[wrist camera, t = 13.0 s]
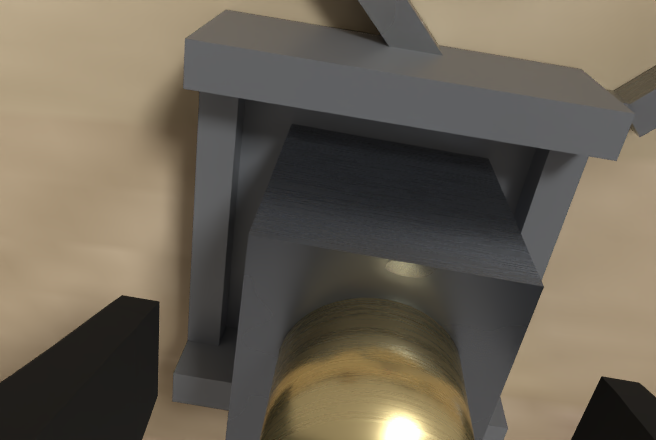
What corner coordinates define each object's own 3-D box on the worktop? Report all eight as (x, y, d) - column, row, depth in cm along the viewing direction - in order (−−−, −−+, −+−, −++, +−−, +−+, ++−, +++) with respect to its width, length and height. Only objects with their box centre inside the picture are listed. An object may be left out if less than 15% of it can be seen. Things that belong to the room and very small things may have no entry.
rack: (581, 69, 13) (635, 113, 11) (477, 365, 18) (497, 454, 15) (225, 9, 13) (184, 38, 11) (205, 320, 17) (172, 401, 15)
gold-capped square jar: (488, 158, 13) (598, 414, 7) (439, 317, 15) (486, 631, 9) (291, 123, 13) (205, 345, 7) (269, 287, 15) (186, 581, 9)
